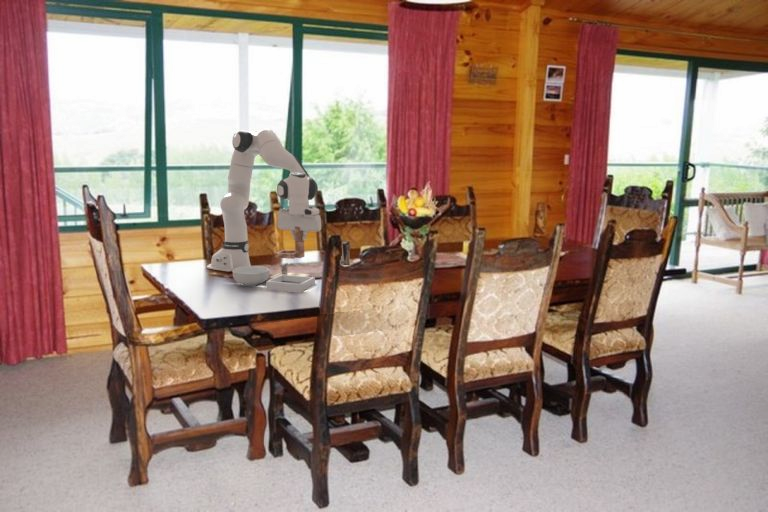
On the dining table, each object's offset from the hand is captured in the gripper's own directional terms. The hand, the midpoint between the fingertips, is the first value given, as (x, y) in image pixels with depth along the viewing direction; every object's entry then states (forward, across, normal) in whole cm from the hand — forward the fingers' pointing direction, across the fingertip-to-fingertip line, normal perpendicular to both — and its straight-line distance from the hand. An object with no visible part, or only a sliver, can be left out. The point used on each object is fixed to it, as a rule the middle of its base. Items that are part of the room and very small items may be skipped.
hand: (299, 240), depth 313 cm
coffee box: (+22, +6, +33) cm, 40 cm away
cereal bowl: (+22, -24, -1) cm, 33 cm away
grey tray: (+22, -5, 0) cm, 22 cm away
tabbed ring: (+8, -4, 0) cm, 9 cm away
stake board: (+22, -14, +17) cm, 31 cm away
